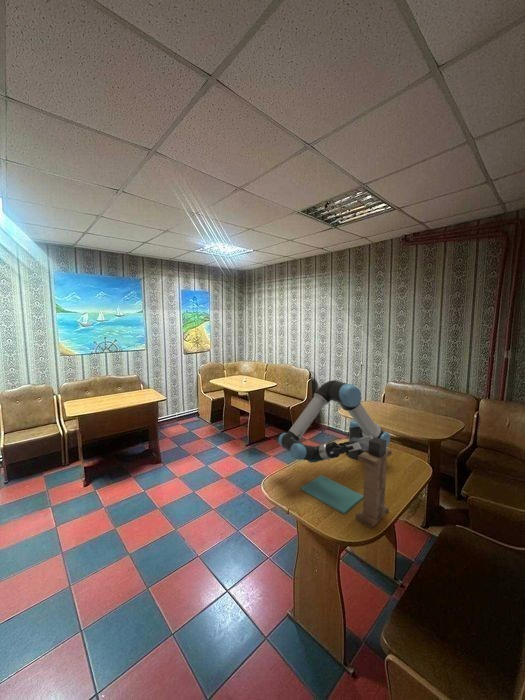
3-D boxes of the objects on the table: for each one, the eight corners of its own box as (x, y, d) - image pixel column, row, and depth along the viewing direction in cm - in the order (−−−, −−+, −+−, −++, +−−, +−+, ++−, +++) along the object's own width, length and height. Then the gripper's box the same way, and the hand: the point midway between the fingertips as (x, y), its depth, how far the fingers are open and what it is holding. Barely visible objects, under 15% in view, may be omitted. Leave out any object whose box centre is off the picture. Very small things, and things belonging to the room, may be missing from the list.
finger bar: (354, 442, 138) (355, 430, 137) (385, 453, 127) (386, 440, 126) (347, 446, 134) (348, 433, 133) (379, 457, 123) (380, 444, 122)
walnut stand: (372, 503, 139) (375, 444, 135) (388, 511, 133) (391, 450, 130) (355, 519, 128) (358, 455, 125) (371, 528, 122) (374, 461, 119)
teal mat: (321, 476, 162) (321, 475, 162) (363, 497, 143) (364, 496, 143) (300, 489, 150) (300, 487, 150) (344, 514, 131) (344, 512, 131)
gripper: (345, 450, 152) (381, 442, 137) (319, 466, 137) (356, 458, 121) (339, 437, 154) (374, 427, 139) (313, 450, 139) (348, 441, 124)
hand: (366, 441), depth 130 cm, fingers open, 11 cm apart
